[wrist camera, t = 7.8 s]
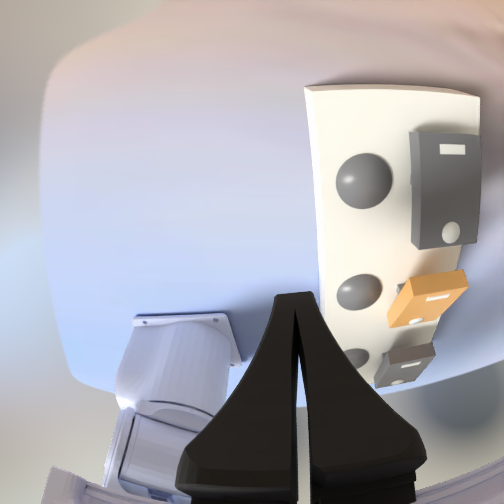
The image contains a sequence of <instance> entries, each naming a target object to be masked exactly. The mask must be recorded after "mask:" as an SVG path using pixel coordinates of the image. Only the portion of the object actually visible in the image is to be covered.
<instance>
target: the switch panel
mask: <svg viewBox="0 0 504 504" xmlns="http://www.w3.org/2000/svg"><path fill="white" fill-rule="evenodd" d="M304 92H305V99H306V108H307V116H308V125H309V134H310V144H311V154H312V165H313V177H314V189H315V203H316V219H317V237H318V260H319V293H320V312H321V314H322V316H323V318H324V320H325V322H326V324H327V326H328V328H329V329H330V331H331V333H332V335H333V336H334V338H335V340H336V341H337V343H338V344H339V346H340V347H341V349H342V350H343V352H344V353H345V355H346V356H347V358H348V359H349V360H350V362H351V363H352V364H353V366H354V367H355V368H356V370H357V371H358V372H359V373H360V375H361V376H362V377H363V378H364V379H365V381H366V382H367V383H368V384H372V383H374V375H375V373H376V372H377V370H378V368H379V366H380V364H381V362H382V360H383V358H384V357H385V355H386V353H387V351H390V350H396V349H401V348H407V347H412V346H417V345H422V344H426V343H430V342H431V340H432V338H433V335H434V332H435V330H436V327H437V325H438V322H439V319H440V317H441V315H440V316H439V317H438V318H437V319H436V320H433V321H428V322H423V323H418V324H413V325H407V326H401V327H395V328H389V324H388V319H387V312H388V310H389V309H390V307H391V306H392V304H393V303H394V301H395V300H396V298H397V296H398V295H399V293H400V292H401V290H402V288H403V287H404V285H405V283H406V282H407V280H408V278H409V277H415V276H422V275H429V274H435V273H442V272H448V271H455V270H456V266H457V263H458V259H459V255H460V251H461V247H462V245H457V246H449V247H441V248H433V249H424V250H418V249H417V248H416V247H415V246H414V245H413V244H412V243H411V216H412V185H411V157H410V141H409V132H446V133H465V134H475V135H479V122H480V97H477V96H474V95H471V94H467V93H464V92H460V91H457V90H453V89H448V88H439V87H427V86H414V85H392V84H344V85H322V86H307V87H304Z"/></svg>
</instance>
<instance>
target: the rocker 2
mask: <svg viewBox="0 0 504 504" xmlns="http://www.w3.org/2000/svg"><path fill="white" fill-rule="evenodd" d="M468 287H469V285H468V282H467V279H466V276H465V273H464V270H463V269H461V270H455V271H448V272H442V273H435V274H429V275H422V276H415V277H409V278H408V280H407V282H406V283H405V285H404V287H403V288H402V290H401V292H400V293H399V295H398V296H397V298H396V300H395V301H394V303H393V304H392V306H391V307H390V309H389V310H388V312H387V319H388V324H389V328H395V327H401V326H407V325H413V324H418V323H423V322H428V321H433V320H436V319H437V318H438V317H439V316H440V315H441V314H442V313H443V312H444V311H445V310H446V309H448V308H449V307H450V306H451V305H452V304H453V302H454V301H455V300H456V299H457V298H458V297H459V296H460V295H461V294H462V293H463V292H464V291H465V290H466V289H467V288H468Z"/></svg>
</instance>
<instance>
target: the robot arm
mask: <svg viewBox="0 0 504 504" xmlns="http://www.w3.org/2000/svg"><path fill="white" fill-rule="evenodd" d="M215 318H217V319H215ZM132 323H133V325H134V329H133V332H132V334H131V337H130V339H129V342H128V345H127V347H126V350H125V352H124V355H123V358H122V360H121V363H120V366H119V368H118V371H117V375H116V381H115V393H116V398H117V402H118V404H119V406H120V408H121V411H120V413H119V416H118V420H117V423H116V427H115V430H114V433H113V437H112V440H111V444H110V447H109V451H108V455H107V459H106V463H105V466H104V469H105V473H104V477H103V481H102V486H100V485H97V484H94V483H91V482H88V481H86V480H85V479H83V478H81V477H79V476H77V475H75V474H73V473H70V472H68V471H65V470H63V469H60V468H58V467H55V466H51V469H50V473H49V476H48V479H47V483H46V487H45V490H44V494H43V498H42V502H41V504H297V501H298V457H297V456H298V455H297V423H296V400H297V381H298V357H299V358H300V364H301V370H302V377H303V383H304V389H305V395H306V402H307V411H308V430H309V455H310V456H309V457H310V502H311V503H310V504H504V456H503V457H501V458H499V459H497V460H495V461H493V462H491V463H489V464H487V465H484V466H482V467H480V468H478V469H475V470H473V471H471V472H468V473H466V474H463V475H461V476H458V477H455V478H453V479H450V480H447V481H444V482H442V483H439V484H436V485H433V486H429V487H426V488H423V489H420V490H416V491H415V486H414V482H415V481H416V473H415V470H416V469H418V468H419V467H420V466H421V465H422V464H424V462H425V461H426V460H427V456H426V450H425V447H424V444H423V442H422V439H421V437H420V435H419V433H418V431H417V430H416V429H415V428H414V427H413V426H412V425H410V424H409V423H408V422H407V421H406V420H404V419H403V418H402V417H401V416H400V415H399V414H397V413H396V412H395V411H394V410H393V409H392V408H391V407H390V406H389V405H388V404H387V403H386V402H385V401H384V400H383V399H382V398H381V397H380V396H379V395H378V394H377V393H376V392H375V391H374V390H373V388H372V387H371V386H370V385H369V384H368V383H367V382H366V381H365V379H364V378H363V377H362V376H361V375H360V373H359V372H358V371H357V370H356V368H355V367H354V366H353V364H352V363H351V362H350V360H349V359H348V358H347V356H346V355H345V353H344V352H343V350H342V349H341V347H340V346H339V344H338V343H337V341H336V340H335V338H334V336H333V335H332V333H331V331H330V329H329V328H328V326H327V324H326V322H325V320H324V318H323V316H322V314H321V312H320V310H319V308H318V306H317V303H316V300H315V298H314V294H313V293H312V292H311V291H308V292H298V293H287V294H277V295H276V296H275V297H274V303H273V308H272V312H271V315H270V318H269V321H268V324H267V327H266V330H265V332H264V335H263V337H262V340H261V342H260V344H259V347H258V349H257V351H256V353H255V355H254V357H253V359H252V361H251V363H250V365H249V367H248V369H247V370H246V372H245V374H244V375H243V377H242V379H241V380H240V382H239V384H238V385H237V387H236V388H235V390H234V391H233V393H232V394H231V395H230V397H229V398H228V400H227V401H226V393H227V385H228V376H229V367H240V366H242V360H241V357H240V354H239V351H238V348H237V345H236V342H235V339H234V336H233V333H232V329H231V326H230V323H229V320H228V317H227V315H226V314H224V313H214V314H195V315H172V316H140V317H133V318H132Z"/></svg>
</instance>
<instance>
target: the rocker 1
mask: <svg viewBox="0 0 504 504" xmlns="http://www.w3.org/2000/svg"><path fill="white" fill-rule="evenodd" d="M409 141H410V157H411V185H412V216H411V243H412V244H413V245H414V246H415V247H416V248H417V249H418V250H424V249H433V248H441V247H449V246H457V245H465V244H473V243H477V235H478V225H479V213H480V197H481V138H480V135H475V134H465V133H446V132H409Z"/></svg>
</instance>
